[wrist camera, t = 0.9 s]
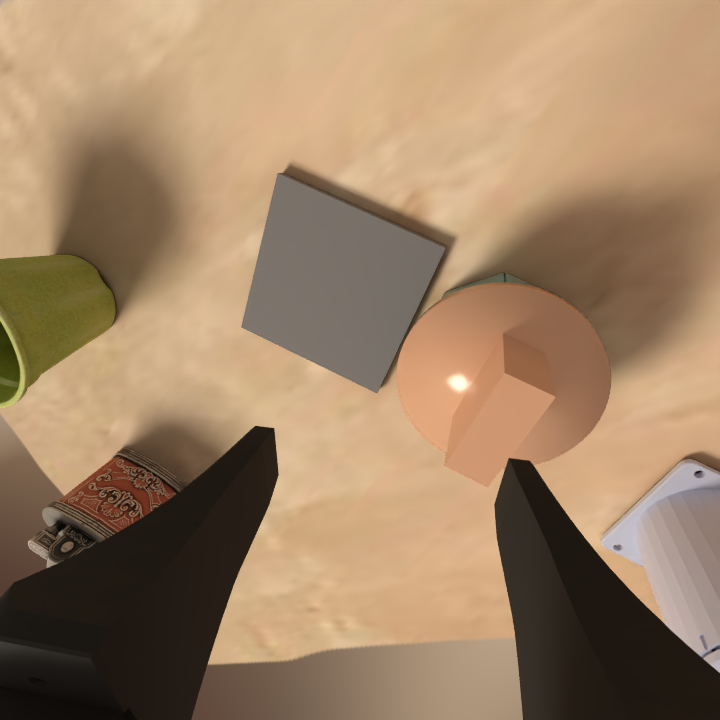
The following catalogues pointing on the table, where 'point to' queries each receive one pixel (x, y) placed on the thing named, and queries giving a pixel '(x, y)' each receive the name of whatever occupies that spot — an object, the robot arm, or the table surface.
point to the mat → (337, 282)
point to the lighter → (104, 505)
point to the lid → (502, 377)
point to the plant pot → (47, 316)
